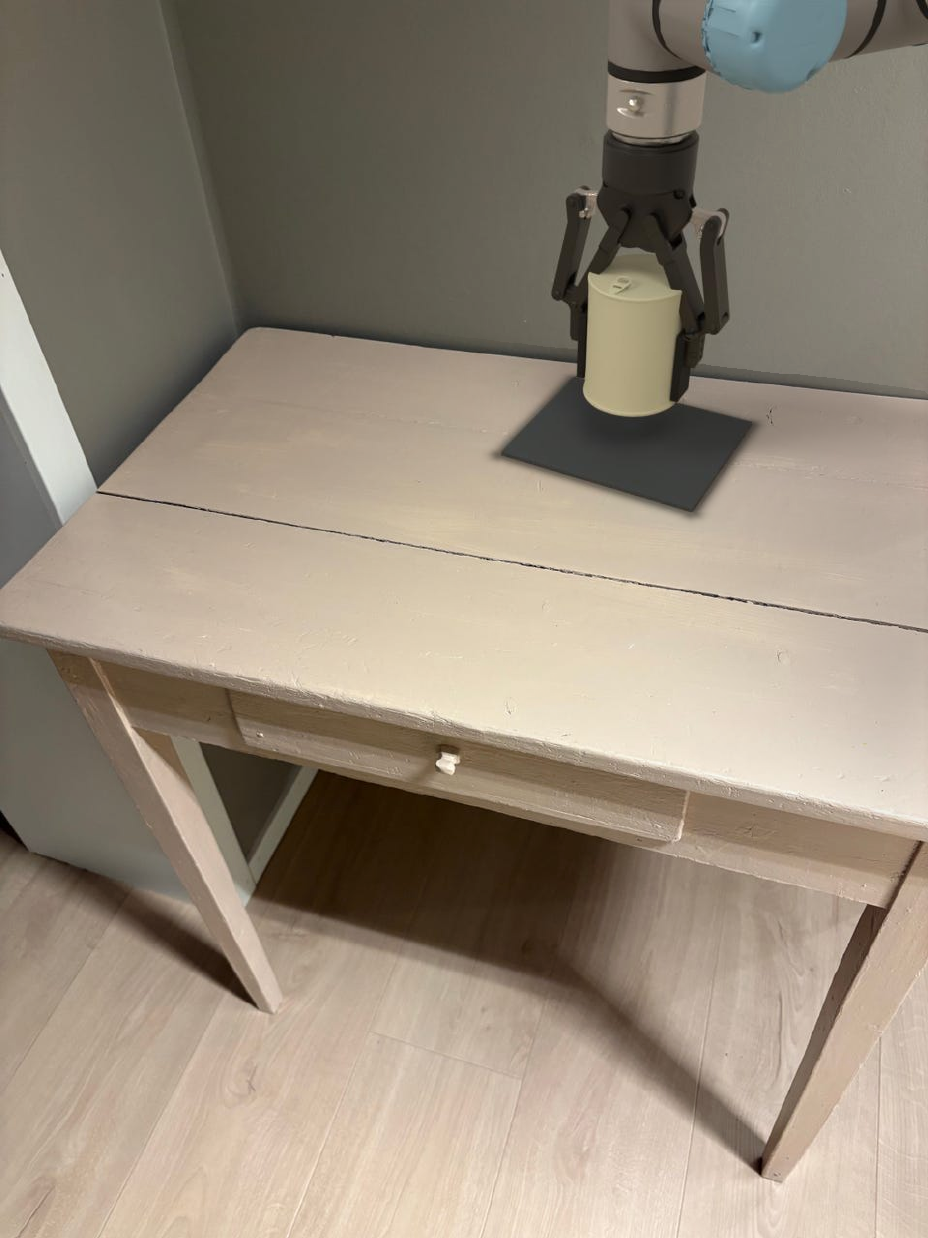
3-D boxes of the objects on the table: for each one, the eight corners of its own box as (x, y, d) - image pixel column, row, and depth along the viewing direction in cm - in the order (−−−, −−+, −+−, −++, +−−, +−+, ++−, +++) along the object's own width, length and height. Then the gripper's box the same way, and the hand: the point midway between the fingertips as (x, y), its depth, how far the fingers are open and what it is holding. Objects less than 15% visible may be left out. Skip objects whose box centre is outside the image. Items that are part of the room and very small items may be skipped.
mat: (752, 424, 97) (752, 421, 96) (692, 512, 87) (692, 508, 87) (573, 379, 105) (573, 376, 104) (501, 454, 95) (500, 451, 95)
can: (563, 395, 92) (566, 275, 84) (620, 357, 97) (628, 239, 88) (642, 428, 87) (654, 304, 79) (699, 386, 92) (715, 264, 84)
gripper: (509, 127, 78) (513, 374, 94) (770, 164, 69) (726, 430, 85) (552, 99, 82) (549, 340, 98) (802, 131, 74) (755, 390, 89)
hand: (631, 382), depth 91 cm, fingers closed on can, 9 cm apart
